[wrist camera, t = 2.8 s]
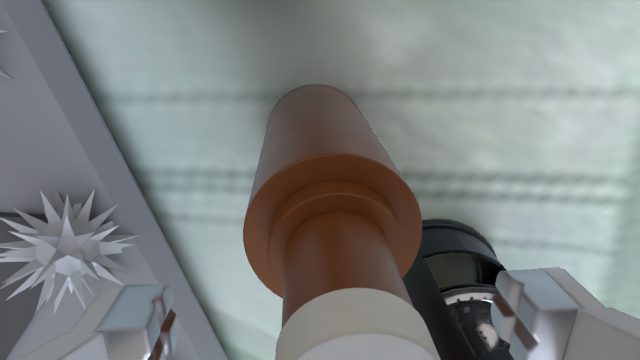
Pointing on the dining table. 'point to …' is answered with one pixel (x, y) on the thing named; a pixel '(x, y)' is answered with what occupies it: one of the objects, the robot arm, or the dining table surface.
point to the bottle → (334, 234)
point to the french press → (457, 295)
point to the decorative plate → (70, 201)
